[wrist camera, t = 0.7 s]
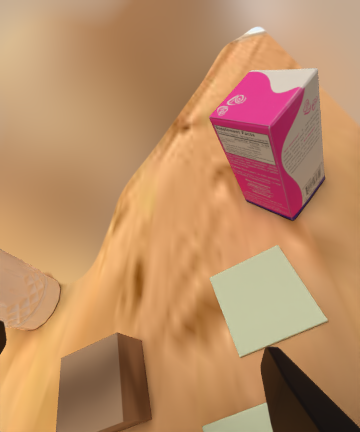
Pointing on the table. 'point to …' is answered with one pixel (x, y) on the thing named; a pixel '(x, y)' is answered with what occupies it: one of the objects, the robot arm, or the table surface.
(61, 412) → the walnut base
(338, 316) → the table surface
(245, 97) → the supplement box
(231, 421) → the sage block
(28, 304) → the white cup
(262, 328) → the tile
